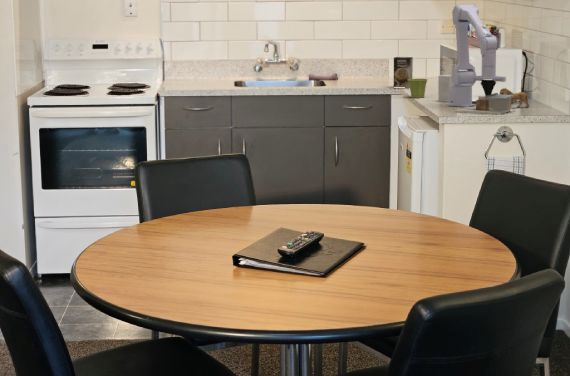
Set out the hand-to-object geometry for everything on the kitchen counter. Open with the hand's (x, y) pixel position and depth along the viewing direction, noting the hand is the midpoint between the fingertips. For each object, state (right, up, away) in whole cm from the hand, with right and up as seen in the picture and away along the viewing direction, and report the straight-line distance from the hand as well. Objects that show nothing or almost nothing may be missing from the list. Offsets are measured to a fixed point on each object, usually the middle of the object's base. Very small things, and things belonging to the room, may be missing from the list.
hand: (488, 98), depth 403 cm
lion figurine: (+13, -3, +11) cm, 17 cm away
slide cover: (+5, 0, -3) cm, 5 cm away
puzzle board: (-2, -5, +3) cm, 6 cm away
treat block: (-2, -5, +3) cm, 6 cm away
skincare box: (-11, +2, +40) cm, 42 cm away
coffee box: (-23, +15, +101) cm, 104 cm away
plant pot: (-22, +6, +58) cm, 62 cm away
